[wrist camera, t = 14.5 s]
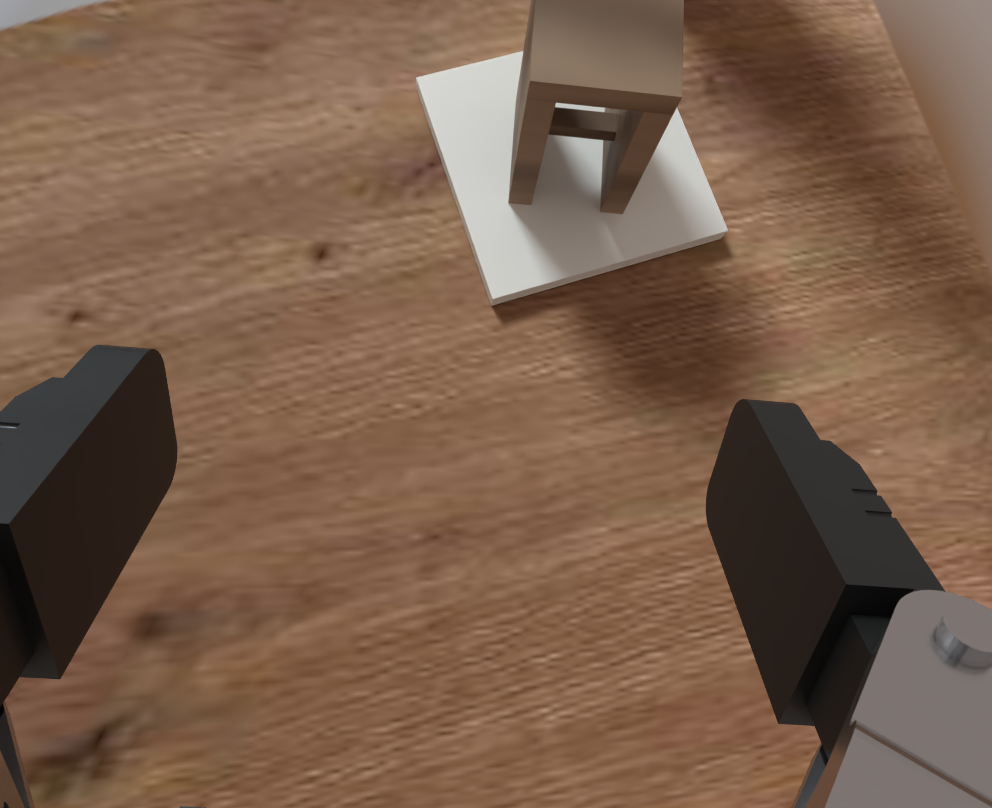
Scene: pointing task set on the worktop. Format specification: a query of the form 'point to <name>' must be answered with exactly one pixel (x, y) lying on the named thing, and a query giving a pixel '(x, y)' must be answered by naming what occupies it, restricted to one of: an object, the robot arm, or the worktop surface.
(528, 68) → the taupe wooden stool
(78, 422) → the robot arm
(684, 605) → the worktop surface
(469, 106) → the off-white board
